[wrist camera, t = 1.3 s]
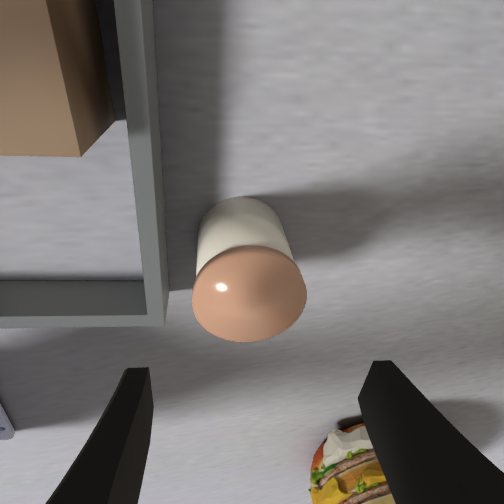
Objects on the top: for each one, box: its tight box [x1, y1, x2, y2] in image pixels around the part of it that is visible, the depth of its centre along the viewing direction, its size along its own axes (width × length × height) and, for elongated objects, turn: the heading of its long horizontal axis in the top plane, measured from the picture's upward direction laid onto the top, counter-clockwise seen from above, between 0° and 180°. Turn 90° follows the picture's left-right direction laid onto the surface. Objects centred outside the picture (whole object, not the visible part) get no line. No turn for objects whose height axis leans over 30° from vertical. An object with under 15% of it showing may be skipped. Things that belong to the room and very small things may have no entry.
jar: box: [192, 197, 307, 342], centre depth 17 cm, size 5×5×6 cm
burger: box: [309, 423, 395, 504], centre depth 30 cm, size 13×14×10 cm
